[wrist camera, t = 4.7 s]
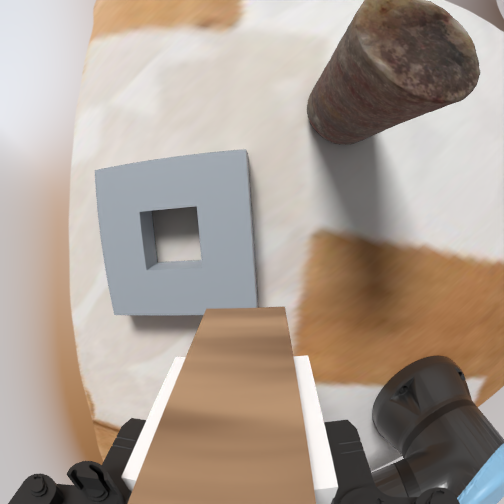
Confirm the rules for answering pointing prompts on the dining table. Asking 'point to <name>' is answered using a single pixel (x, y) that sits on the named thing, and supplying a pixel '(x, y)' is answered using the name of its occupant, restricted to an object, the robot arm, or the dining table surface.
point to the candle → (392, 70)
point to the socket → (210, 232)
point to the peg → (232, 419)
